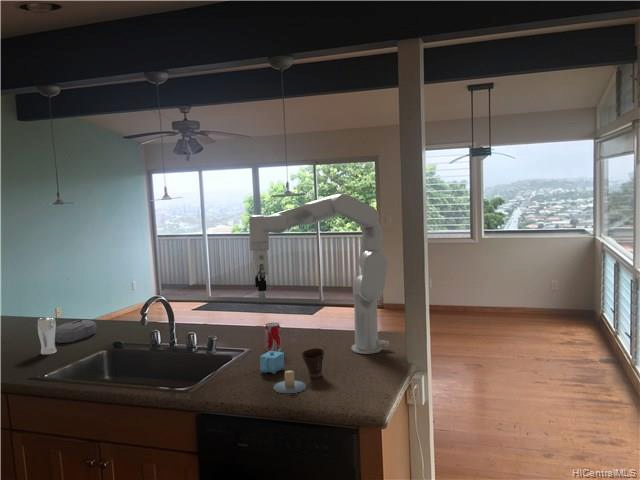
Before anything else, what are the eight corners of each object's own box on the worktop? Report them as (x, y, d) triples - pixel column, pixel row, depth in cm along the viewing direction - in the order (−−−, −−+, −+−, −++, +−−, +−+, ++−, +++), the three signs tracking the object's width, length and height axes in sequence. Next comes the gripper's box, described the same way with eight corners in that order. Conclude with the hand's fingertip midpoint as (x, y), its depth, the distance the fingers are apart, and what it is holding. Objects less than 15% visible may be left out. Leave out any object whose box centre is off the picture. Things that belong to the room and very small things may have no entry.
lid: (306, 382, 175) (305, 366, 175) (305, 394, 164) (305, 377, 164) (274, 383, 175) (274, 367, 174) (272, 395, 164) (271, 378, 164)
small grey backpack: (76, 332, 251) (44, 343, 232) (75, 315, 251) (43, 325, 231) (101, 333, 247) (71, 345, 228) (100, 317, 247) (70, 327, 227)
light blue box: (274, 364, 194) (273, 345, 194) (288, 366, 192) (287, 347, 191) (258, 374, 183) (257, 354, 183) (272, 376, 181) (272, 356, 180)
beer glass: (61, 351, 219) (59, 317, 217) (46, 356, 212) (44, 321, 211) (50, 349, 221) (48, 316, 220) (35, 354, 215) (33, 319, 214)
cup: (298, 379, 177) (297, 354, 176) (307, 371, 185) (306, 347, 184) (320, 382, 174) (319, 356, 173) (328, 374, 182) (327, 349, 181)
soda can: (279, 355, 205) (278, 326, 204) (262, 354, 207) (261, 326, 206) (283, 350, 212) (282, 322, 211) (267, 349, 214) (266, 321, 213)
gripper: (272, 247, 191) (273, 292, 192) (265, 244, 207) (267, 284, 209) (252, 248, 189) (253, 293, 190) (247, 244, 206) (249, 285, 207)
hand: (260, 288), depth 200 cm, fingers open, 9 cm apart
